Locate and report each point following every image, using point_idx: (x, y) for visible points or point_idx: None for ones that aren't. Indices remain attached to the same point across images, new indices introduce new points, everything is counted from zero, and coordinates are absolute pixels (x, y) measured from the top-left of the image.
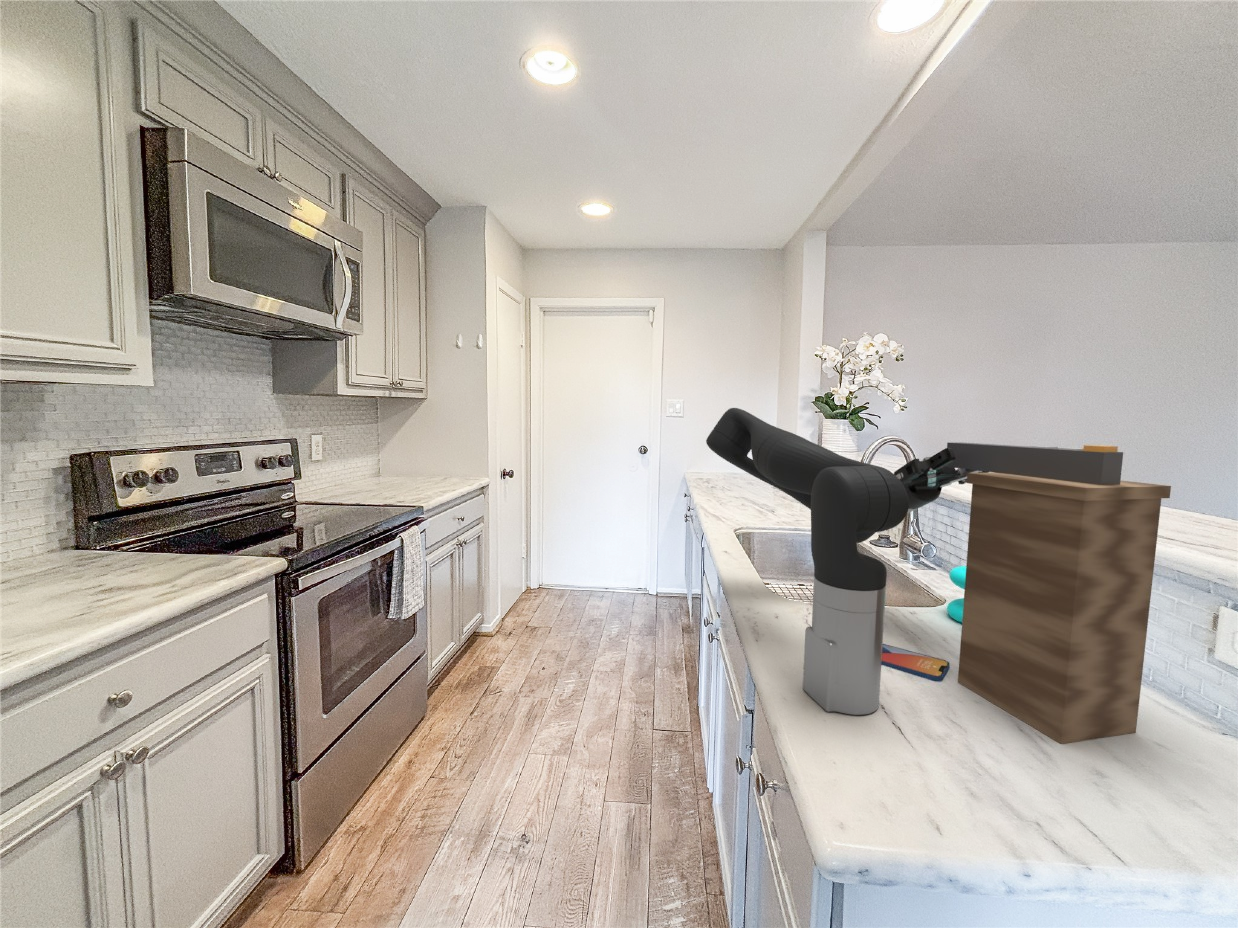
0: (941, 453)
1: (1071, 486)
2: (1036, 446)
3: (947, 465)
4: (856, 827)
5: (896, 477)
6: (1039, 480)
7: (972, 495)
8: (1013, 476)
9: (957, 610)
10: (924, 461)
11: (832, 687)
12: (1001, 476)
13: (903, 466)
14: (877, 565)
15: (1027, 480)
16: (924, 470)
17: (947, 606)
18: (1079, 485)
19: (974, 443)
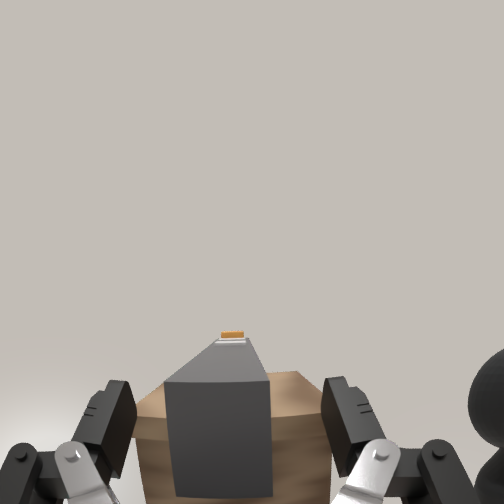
0: (360, 396)
1: (299, 373)
2: (245, 341)
3: (270, 487)
4: None
5: (486, 362)
6: (289, 384)
7: (331, 454)
8: (286, 397)
9: None
10: (400, 451)
11: None
12: (312, 395)
13: (477, 500)
14: (488, 461)
15: (310, 383)
16: (391, 492)
17: None
18: (283, 375)
19: (206, 366)
